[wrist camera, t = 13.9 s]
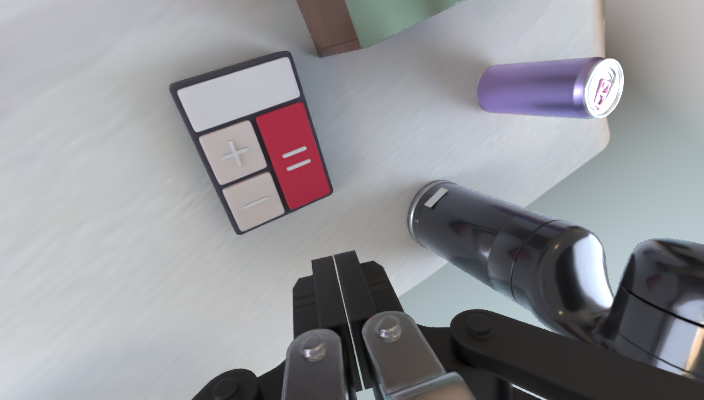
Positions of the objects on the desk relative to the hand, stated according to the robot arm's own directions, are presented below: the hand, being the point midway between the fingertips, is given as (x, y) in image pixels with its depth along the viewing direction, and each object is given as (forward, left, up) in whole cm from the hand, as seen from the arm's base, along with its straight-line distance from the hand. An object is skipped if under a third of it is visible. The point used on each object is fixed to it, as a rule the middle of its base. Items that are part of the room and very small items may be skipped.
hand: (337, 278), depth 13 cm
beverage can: (-28, -20, -29) cm, 45 cm away
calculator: (-2, -2, -29) cm, 29 cm away
